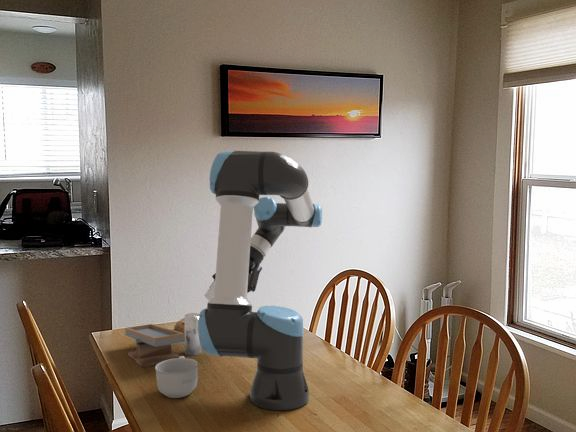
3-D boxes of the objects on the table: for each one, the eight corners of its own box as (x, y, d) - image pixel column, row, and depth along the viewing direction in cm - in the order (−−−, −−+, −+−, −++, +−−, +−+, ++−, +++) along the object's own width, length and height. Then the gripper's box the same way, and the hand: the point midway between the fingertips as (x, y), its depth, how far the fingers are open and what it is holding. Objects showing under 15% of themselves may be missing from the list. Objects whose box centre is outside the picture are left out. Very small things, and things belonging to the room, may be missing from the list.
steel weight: (203, 353, 189) (203, 316, 188) (188, 356, 186) (188, 318, 185) (196, 349, 193) (196, 312, 192) (182, 351, 190) (181, 314, 189)
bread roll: (176, 342, 211) (166, 322, 209) (203, 328, 213) (193, 308, 212) (180, 351, 202) (169, 331, 200) (208, 336, 204) (197, 316, 202)
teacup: (188, 404, 151) (188, 373, 151) (148, 399, 154) (148, 369, 153) (207, 383, 165) (207, 354, 164) (169, 379, 167) (169, 351, 166)
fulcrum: (180, 359, 183) (180, 343, 182) (141, 367, 176) (141, 350, 176) (164, 348, 193) (164, 333, 192) (128, 355, 186) (127, 339, 186)
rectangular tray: (188, 343, 176) (187, 332, 176) (152, 349, 170) (151, 338, 170) (155, 332, 198) (154, 323, 198) (122, 337, 192) (121, 328, 192)
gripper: (286, 263, 197) (250, 316, 188) (238, 253, 215) (203, 301, 206) (274, 249, 193) (237, 302, 184) (226, 240, 211) (190, 288, 202)
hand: (219, 302), depth 195 cm, fingers open, 13 cm apart
